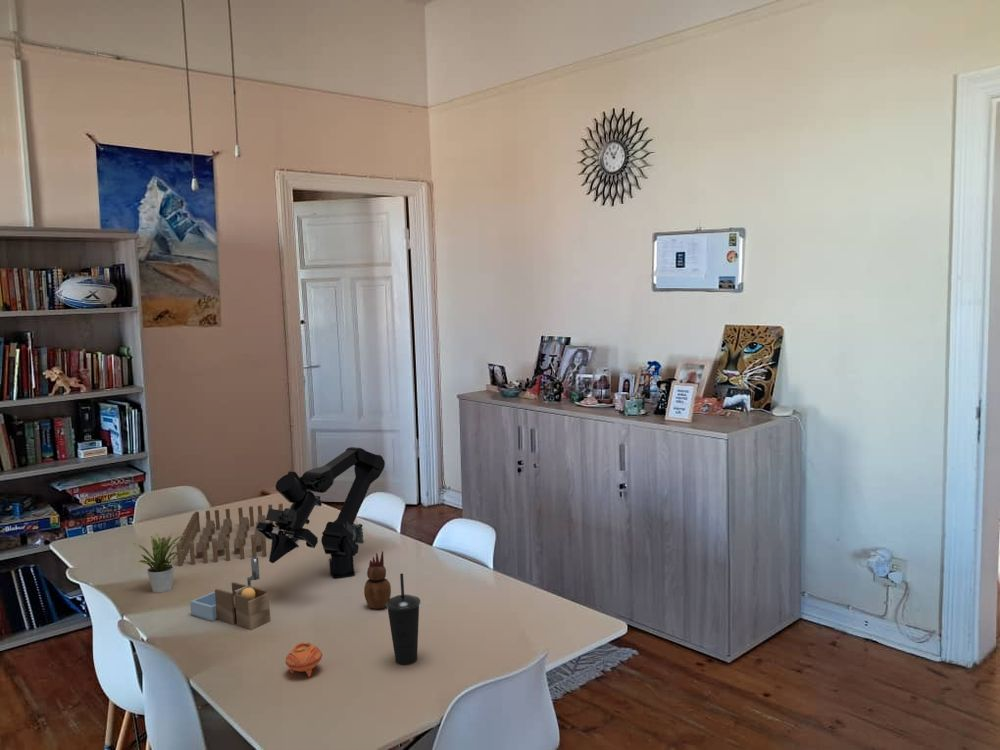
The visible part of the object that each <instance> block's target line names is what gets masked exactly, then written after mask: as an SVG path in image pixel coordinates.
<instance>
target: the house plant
mask: <svg viewBox="0 0 1000 750" xmlns="http://www.w3.org/2000/svg"><path fill="white" fill-rule="evenodd" d="M155 535H156V537H155V536H153V535H152V536H151V535H150V540H151V541H150V542H151V546H152V554H151V553H150V552H149V551H148V550H147V549H146V548H145V547H144V546H142V545H141V544H138V543H134V545H136V546H138V547H139V548H141V549H142V550H143V551H144V552H145V553H146V554H147V555H148V556H149V557H148V556H146V555H145V554H141V556H142V557H143V559H141V560H138V561H137V563H138V562H139V563H144V565H148V566H149V568H148V569H147V574H148V575H147V576H148V579H149V583H150V586H151V590H152V592H153V593H154V594H155V593H157V594H159V593H166V592H169V591H170V590H171V589H173V581H174V570H175V566H174V565H173V564H171V562H172V563H173V562H174V560H175V558H176V556H178V553H179V552H181V551H183V550H181V551H179V552H177V551H175V552H172V551H174V549H175V547H177V544H179V543H181V542H179V541H178V542H179V543H178V542H176V541H177V540H179V539H180V538H181V537H182V536H185V535H183V534H181V535H180V536H178V537H175V538H174V539H173V540H172V541H171V539H172V535H173V533H170V534H169V535H168V536H167V538H166V542H165V545H164V542H162V541H161V538H160V536H159V534H158V533H155ZM156 538H157V539H156ZM170 542H171V543H170ZM173 545H174V546H173ZM171 547H172V548H171ZM170 548H171V550H170ZM169 550H170V552H169ZM168 553H169V554H168ZM180 554H181V553H180ZM167 555H168V556H167ZM171 556H172V557H171Z"/></svg>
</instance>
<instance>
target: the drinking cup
mask: <svg viewBox="0 0 1000 750" xmlns="http://www.w3.org/2000/svg"><path fill="white" fill-rule="evenodd" d="M399 578H400V579H399V580H400V594H399V595H398V594H397V595H395V596H393V597H390V599H389V600H387V602H386V607H385V608H387V613H388V620H389V628H390V632H391V633H390V634H391V639H392V646H393V653H394V658H395V663H396V664H398V665H401V666H402V665H403V666H405V665H406V666H407V665H411V664H414V663H415V662H417V660H418V646H419V645H418V644H419V618H420V605H421V599H420V598H419V596H417V595H412V594H405V584H404V581H405V580H404V573H399Z"/></svg>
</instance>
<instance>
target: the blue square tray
mask: <svg viewBox="0 0 1000 750" xmlns="http://www.w3.org/2000/svg"><path fill="white" fill-rule="evenodd" d="M189 604H190V615H191V616H193V617H197V618H199V619H201V620H202V619H203V620H207V621H209V622H215V621H218V620H217V612H216V599H215V590H214V591H213V592H210V593H207V594H205V595H203V596H200V597H198V598H195V599H193V600H189Z"/></svg>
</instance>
